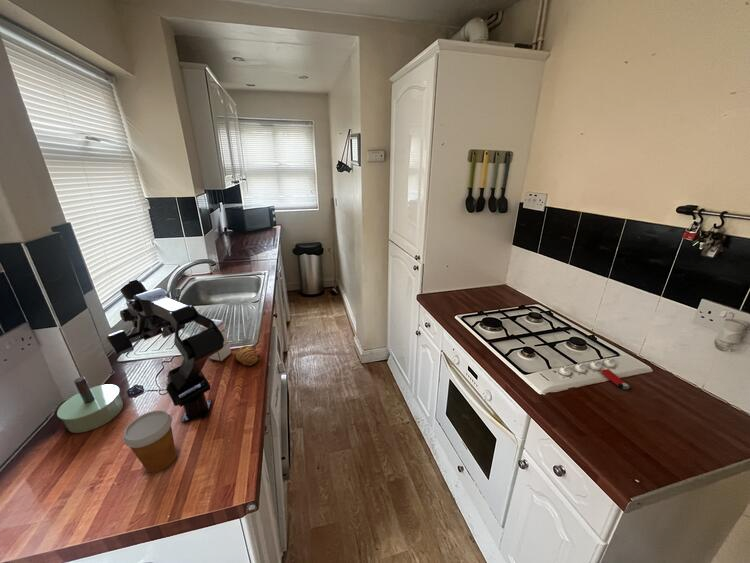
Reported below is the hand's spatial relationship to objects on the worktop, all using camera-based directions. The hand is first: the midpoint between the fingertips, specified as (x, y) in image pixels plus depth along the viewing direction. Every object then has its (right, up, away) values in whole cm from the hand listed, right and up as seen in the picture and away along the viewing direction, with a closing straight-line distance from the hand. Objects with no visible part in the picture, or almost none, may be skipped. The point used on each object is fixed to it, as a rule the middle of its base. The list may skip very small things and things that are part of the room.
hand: (147, 343), depth 98 cm
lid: (-9, -15, -10) cm, 20 cm away
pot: (-9, -19, -8) cm, 23 cm away
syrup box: (+14, -9, +18) cm, 24 cm away
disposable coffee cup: (+20, -25, -22) cm, 39 cm away
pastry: (+26, -9, +16) cm, 32 cm away
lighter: (+150, -12, 0) cm, 151 cm away
